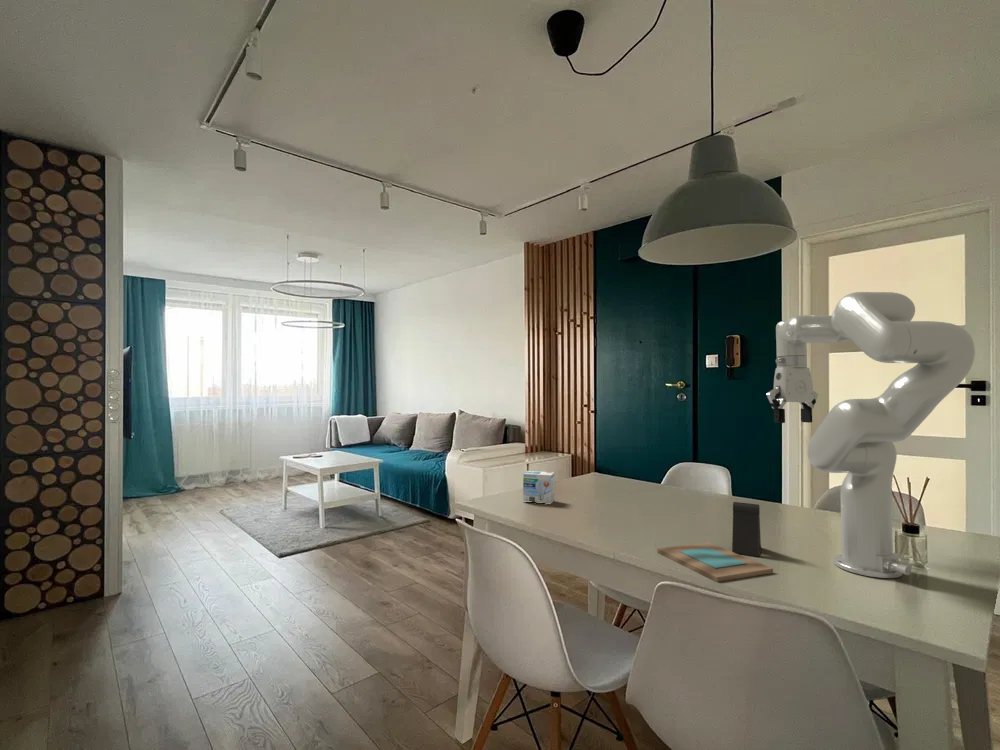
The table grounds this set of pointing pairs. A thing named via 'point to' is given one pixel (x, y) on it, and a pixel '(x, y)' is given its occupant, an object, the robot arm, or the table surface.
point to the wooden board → (714, 561)
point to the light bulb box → (538, 486)
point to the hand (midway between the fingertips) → (793, 422)
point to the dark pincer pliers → (746, 529)
